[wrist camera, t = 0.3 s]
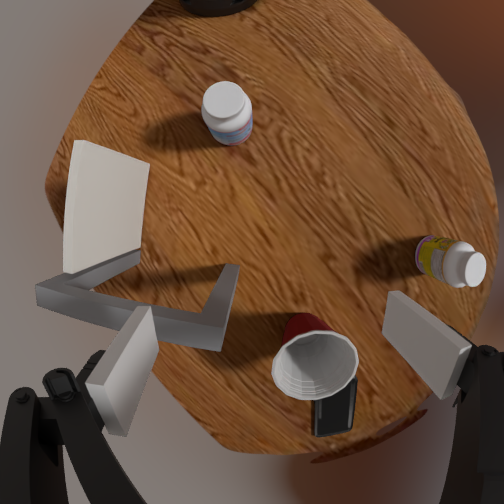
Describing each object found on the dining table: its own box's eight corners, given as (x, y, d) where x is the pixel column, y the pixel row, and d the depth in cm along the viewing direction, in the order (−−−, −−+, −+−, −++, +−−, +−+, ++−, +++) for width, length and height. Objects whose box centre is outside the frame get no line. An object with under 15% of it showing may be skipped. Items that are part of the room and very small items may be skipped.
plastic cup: (253, 336, 43) (252, 378, 31) (298, 284, 42) (314, 313, 30) (304, 369, 44) (317, 414, 32) (348, 322, 42) (375, 358, 31)
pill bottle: (237, 153, 39) (230, 134, 28) (202, 133, 38) (184, 108, 27) (260, 121, 38) (262, 92, 27) (226, 101, 37) (217, 67, 26)
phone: (358, 375, 43) (351, 431, 46) (356, 372, 44) (350, 427, 47) (314, 383, 44) (314, 438, 46) (313, 379, 45) (313, 434, 47)
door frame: (129, 248, 41) (35, 284, 19) (239, 265, 41) (223, 328, 19) (128, 261, 41) (37, 305, 20) (237, 278, 41) (220, 351, 20)
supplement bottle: (445, 238, 40) (494, 249, 27) (437, 275, 41) (484, 296, 28) (417, 231, 40) (466, 241, 27) (409, 270, 41) (455, 292, 28)
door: (140, 247, 40) (72, 274, 23) (126, 245, 40) (54, 269, 23) (150, 164, 38) (83, 139, 21) (135, 163, 38) (65, 140, 21)
